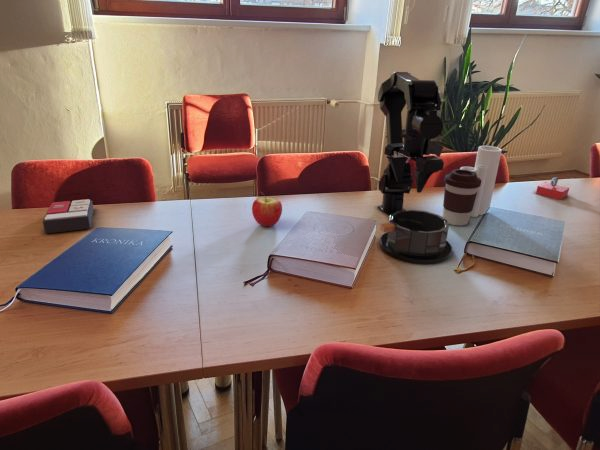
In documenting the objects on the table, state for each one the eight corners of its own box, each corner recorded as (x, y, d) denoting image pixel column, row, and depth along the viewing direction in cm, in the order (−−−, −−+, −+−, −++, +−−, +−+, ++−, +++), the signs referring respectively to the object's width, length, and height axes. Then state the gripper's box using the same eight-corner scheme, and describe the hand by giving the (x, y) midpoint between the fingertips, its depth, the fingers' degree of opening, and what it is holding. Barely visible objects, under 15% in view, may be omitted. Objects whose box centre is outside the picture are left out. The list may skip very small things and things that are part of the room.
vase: (478, 205, 143) (490, 145, 135) (494, 214, 137) (508, 150, 129) (449, 209, 139) (460, 147, 131) (464, 218, 133) (477, 153, 125)
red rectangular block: (535, 193, 156) (540, 176, 153) (543, 189, 160) (547, 172, 157) (560, 199, 150) (565, 182, 148) (567, 195, 154) (572, 178, 152)
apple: (249, 220, 128) (248, 187, 124) (277, 217, 131) (277, 185, 127) (255, 231, 121) (255, 197, 117) (285, 228, 123) (286, 194, 119)
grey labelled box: (91, 197, 131) (87, 213, 118) (94, 211, 133) (90, 228, 120) (50, 201, 128) (41, 218, 115) (53, 215, 129) (44, 233, 116)
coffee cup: (475, 229, 126) (485, 179, 120) (439, 226, 128) (447, 176, 121) (470, 216, 135) (479, 169, 129) (436, 213, 136) (444, 166, 130)
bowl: (394, 261, 105) (397, 237, 102) (367, 236, 117) (369, 214, 115) (456, 252, 110) (460, 228, 108) (423, 229, 123) (427, 207, 120)
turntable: (366, 238, 119) (367, 234, 118) (421, 228, 126) (422, 224, 125) (406, 269, 104) (407, 265, 103) (466, 257, 110) (467, 252, 110)
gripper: (465, 136, 110) (455, 194, 117) (419, 121, 126) (412, 174, 132) (429, 139, 106) (420, 199, 113) (386, 124, 122) (380, 178, 128)
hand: (408, 187), depth 122 cm, fingers open, 9 cm apart
